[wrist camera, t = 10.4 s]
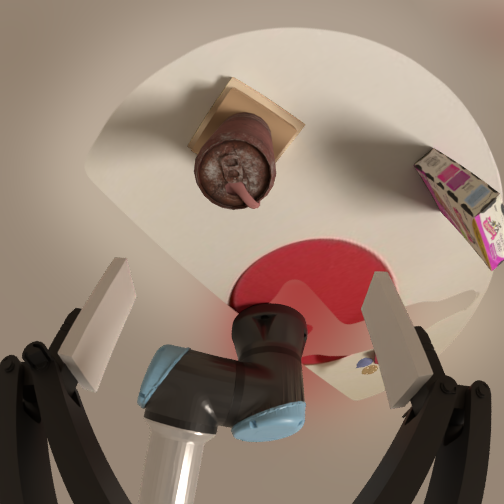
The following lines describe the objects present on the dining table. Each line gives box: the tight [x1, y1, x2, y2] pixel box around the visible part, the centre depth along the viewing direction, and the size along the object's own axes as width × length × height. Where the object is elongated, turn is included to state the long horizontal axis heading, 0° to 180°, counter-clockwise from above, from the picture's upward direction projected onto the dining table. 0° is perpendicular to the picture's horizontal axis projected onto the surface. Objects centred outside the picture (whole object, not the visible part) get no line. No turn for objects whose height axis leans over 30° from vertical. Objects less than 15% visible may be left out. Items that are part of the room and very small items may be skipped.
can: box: [194, 112, 276, 210], centre depth 26 cm, size 6×6×14 cm
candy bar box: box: [414, 148, 504, 271], centre depth 31 cm, size 11×5×16 cm, turn 47°
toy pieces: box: [356, 355, 378, 374], centre depth 63 cm, size 12×11×4 cm
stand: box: [187, 77, 305, 163], centre depth 34 cm, size 11×11×5 cm
